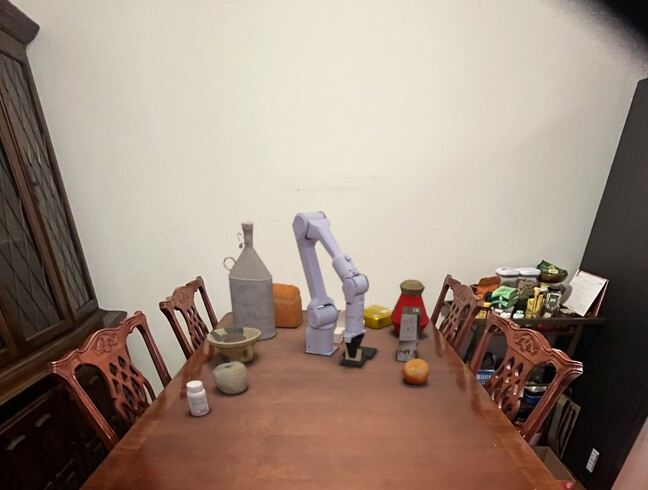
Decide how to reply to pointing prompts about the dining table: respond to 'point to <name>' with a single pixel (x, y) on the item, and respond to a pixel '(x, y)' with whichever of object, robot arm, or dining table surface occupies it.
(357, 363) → the loose pad
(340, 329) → the white slotted holder
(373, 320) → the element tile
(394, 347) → the dining table surface
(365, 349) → the base pad
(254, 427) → the dining table surface
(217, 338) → the bowl
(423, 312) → the bottle
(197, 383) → the pill bottle
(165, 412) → the dining table surface
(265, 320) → the grey jug
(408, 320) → the coffee box
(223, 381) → the stone
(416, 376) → the fruit
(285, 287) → the bread
